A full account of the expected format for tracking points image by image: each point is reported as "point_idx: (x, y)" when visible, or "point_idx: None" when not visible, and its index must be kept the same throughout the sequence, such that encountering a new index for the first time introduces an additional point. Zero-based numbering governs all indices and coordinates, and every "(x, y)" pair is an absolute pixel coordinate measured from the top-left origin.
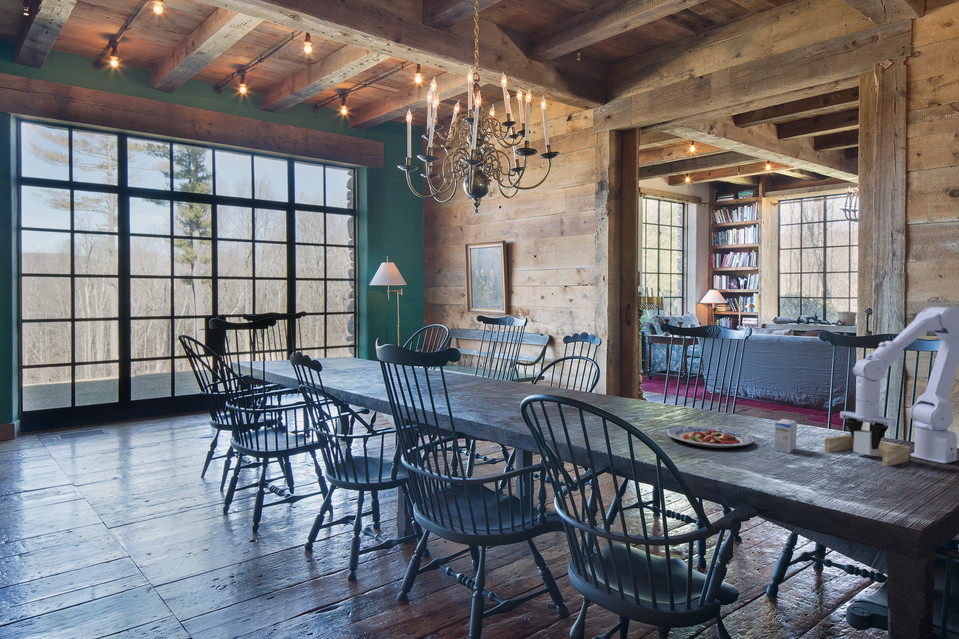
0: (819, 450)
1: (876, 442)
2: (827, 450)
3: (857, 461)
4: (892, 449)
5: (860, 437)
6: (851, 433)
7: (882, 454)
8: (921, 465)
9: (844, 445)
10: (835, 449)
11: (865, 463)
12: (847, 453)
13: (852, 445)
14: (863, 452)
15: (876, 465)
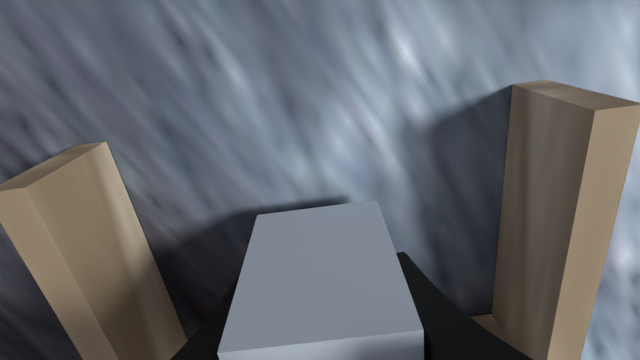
0: (593, 72)
1: None
2: (533, 86)
3: (233, 56)
4: (79, 307)
5: (332, 291)
6: (456, 312)
7: None
8: None
9: (510, 282)
10: (511, 175)
11: (169, 63)
12: (426, 199)
13: None
14: (299, 213)
15: (105, 93)
